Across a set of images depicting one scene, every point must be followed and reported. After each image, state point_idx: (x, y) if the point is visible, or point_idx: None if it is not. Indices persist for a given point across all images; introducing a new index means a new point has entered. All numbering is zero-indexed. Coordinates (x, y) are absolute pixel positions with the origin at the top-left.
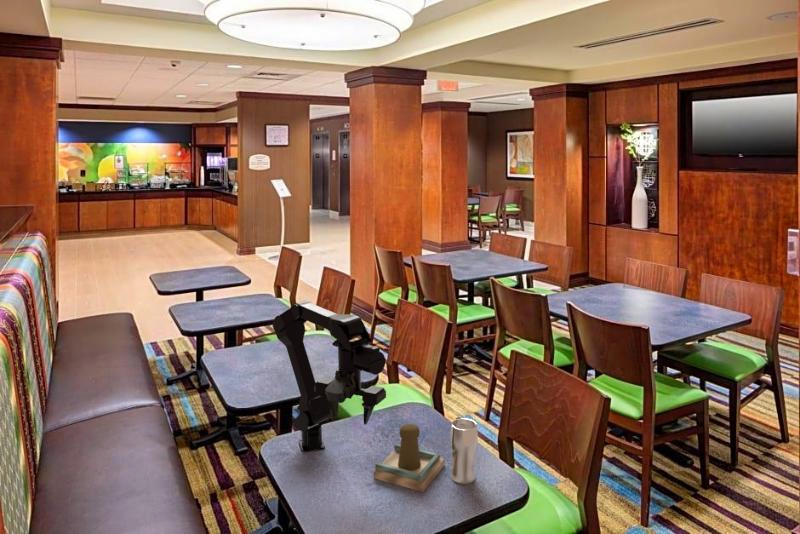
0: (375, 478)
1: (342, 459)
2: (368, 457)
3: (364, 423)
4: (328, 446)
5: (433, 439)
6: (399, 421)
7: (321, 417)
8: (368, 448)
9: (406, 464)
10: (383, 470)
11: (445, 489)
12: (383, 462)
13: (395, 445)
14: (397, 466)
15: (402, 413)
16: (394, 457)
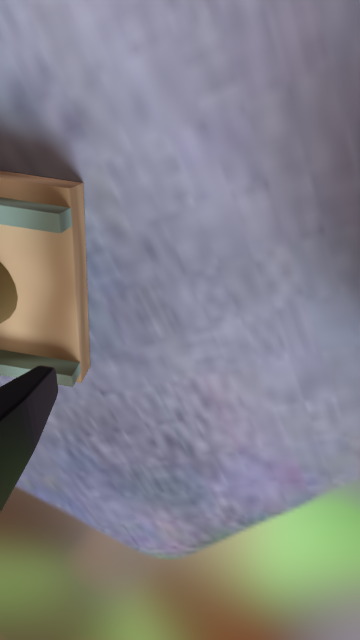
0: (73, 181)
1: (269, 282)
2: (173, 321)
3: (41, 372)
4: (355, 352)
5: (39, 445)
6: (168, 500)
7: None
8: (198, 371)
9: None
10: (25, 201)
11: None
12: (69, 272)
13: (68, 375)
14: (3, 260)
15: (177, 527)
16: (52, 317)
